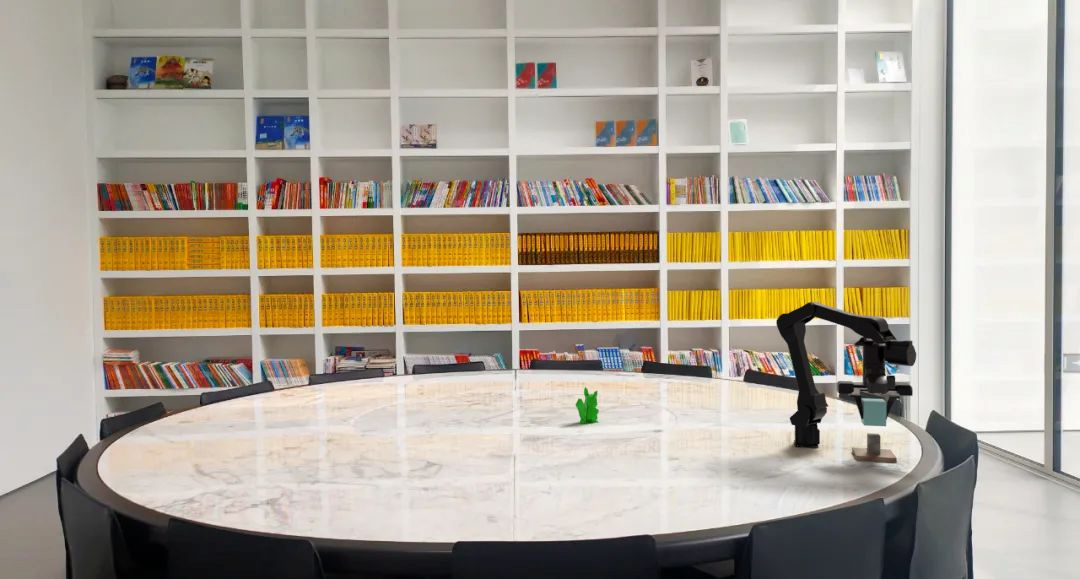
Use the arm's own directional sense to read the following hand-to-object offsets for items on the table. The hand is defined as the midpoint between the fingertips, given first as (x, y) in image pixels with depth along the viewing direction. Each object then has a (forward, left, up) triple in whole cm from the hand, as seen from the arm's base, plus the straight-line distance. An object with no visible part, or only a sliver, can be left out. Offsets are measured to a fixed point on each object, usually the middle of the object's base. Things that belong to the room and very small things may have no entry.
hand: (873, 419), depth 213 cm
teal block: (0, 0, -1) cm, 1 cm away
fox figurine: (-86, +29, -11) cm, 92 cm away
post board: (0, 0, -10) cm, 10 cm away
